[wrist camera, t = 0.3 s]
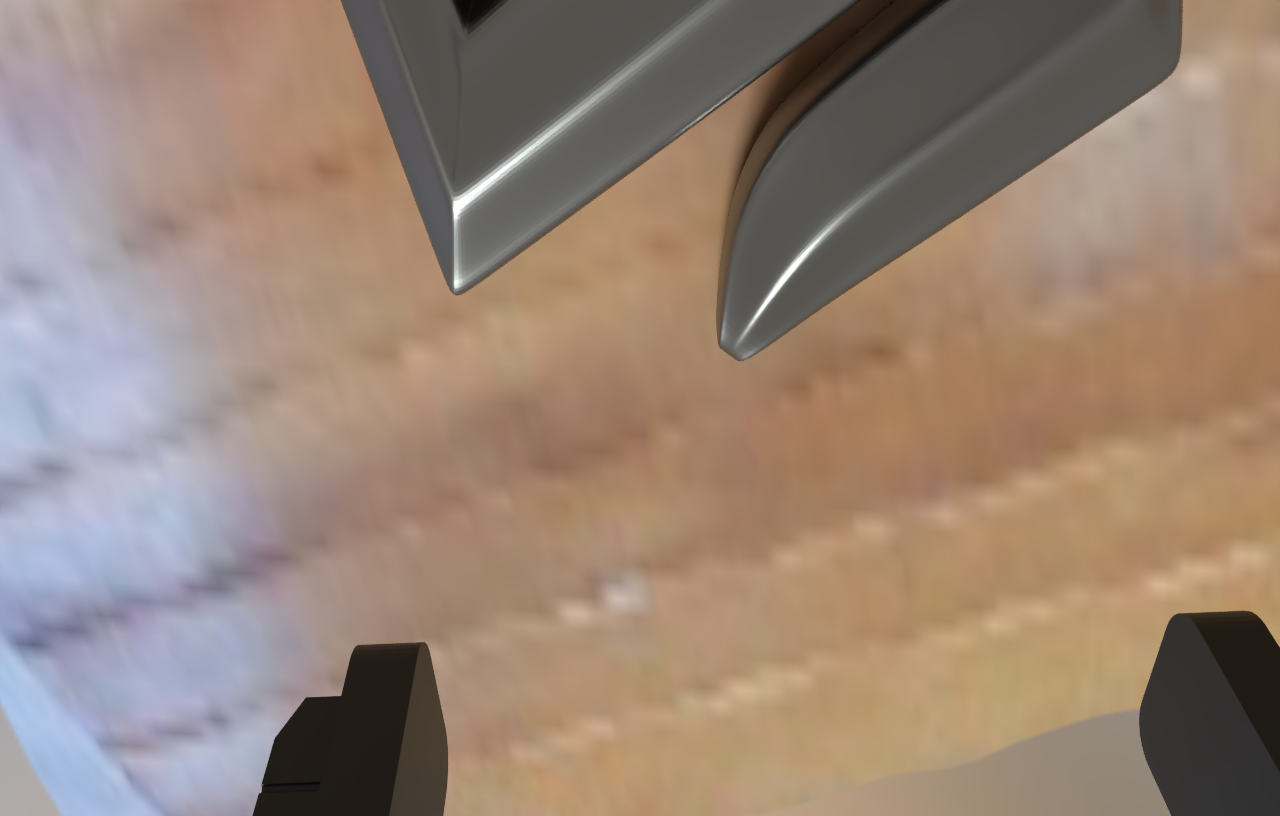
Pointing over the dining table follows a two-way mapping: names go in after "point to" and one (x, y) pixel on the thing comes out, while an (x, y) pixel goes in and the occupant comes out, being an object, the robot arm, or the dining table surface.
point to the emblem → (787, 146)
